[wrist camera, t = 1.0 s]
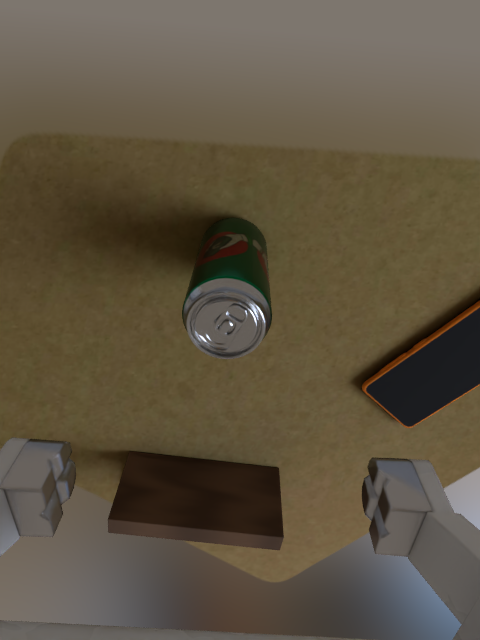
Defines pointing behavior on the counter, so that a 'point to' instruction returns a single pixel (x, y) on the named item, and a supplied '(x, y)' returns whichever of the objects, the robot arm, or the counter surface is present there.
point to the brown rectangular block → (198, 501)
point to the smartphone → (431, 371)
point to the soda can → (229, 291)
